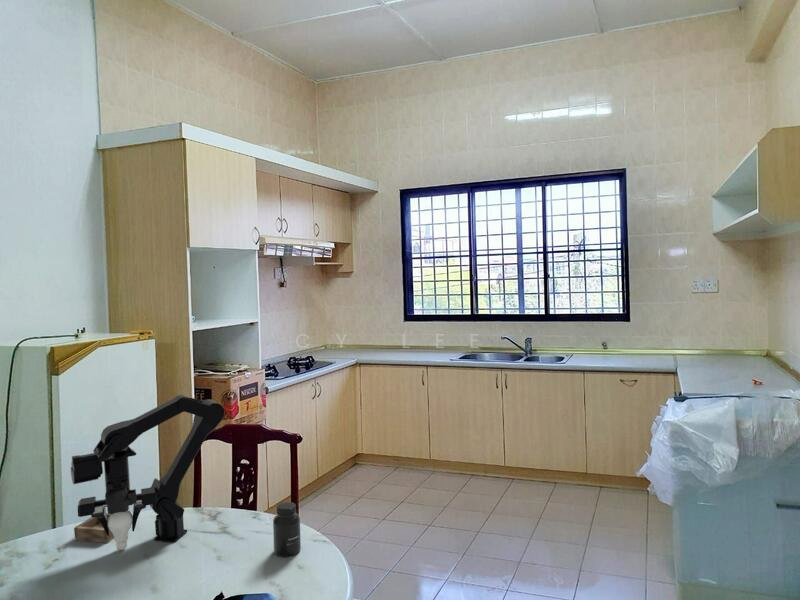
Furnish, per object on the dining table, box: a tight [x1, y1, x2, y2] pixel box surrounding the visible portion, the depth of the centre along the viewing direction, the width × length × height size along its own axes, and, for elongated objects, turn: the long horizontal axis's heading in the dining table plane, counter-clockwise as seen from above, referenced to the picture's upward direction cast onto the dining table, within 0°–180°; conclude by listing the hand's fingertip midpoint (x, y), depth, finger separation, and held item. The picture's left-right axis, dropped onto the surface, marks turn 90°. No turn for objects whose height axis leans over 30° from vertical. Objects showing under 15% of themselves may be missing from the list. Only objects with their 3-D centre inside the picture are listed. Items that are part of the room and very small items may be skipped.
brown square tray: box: [73, 512, 115, 544], centre depth 172 cm, size 10×10×4 cm
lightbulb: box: [107, 509, 133, 551], centre depth 162 cm, size 6×6×11 cm
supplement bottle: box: [272, 501, 302, 557], centre depth 159 cm, size 7×7×12 cm
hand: (120, 533), depth 162 cm, fingers closed on lightbulb, 5 cm apart
